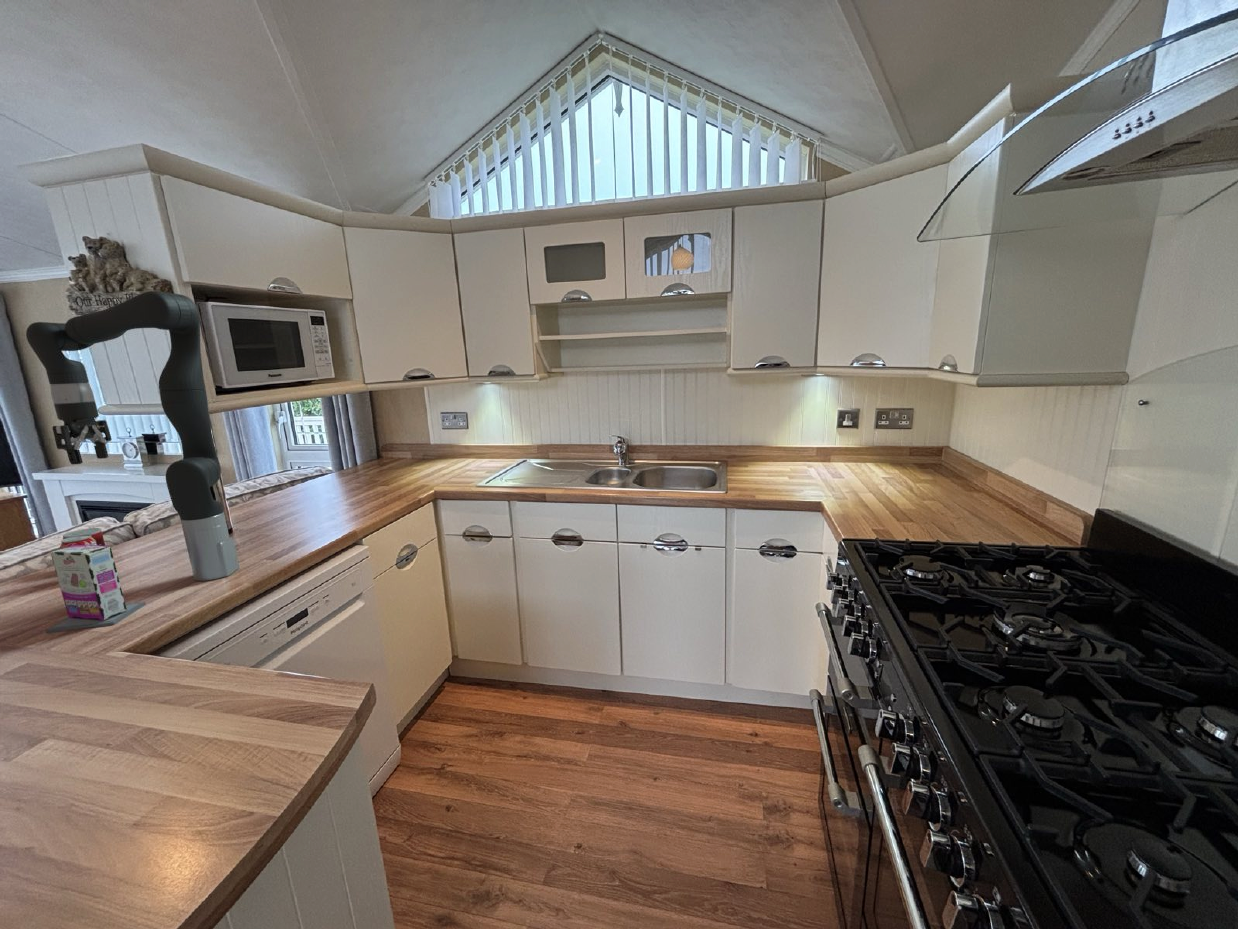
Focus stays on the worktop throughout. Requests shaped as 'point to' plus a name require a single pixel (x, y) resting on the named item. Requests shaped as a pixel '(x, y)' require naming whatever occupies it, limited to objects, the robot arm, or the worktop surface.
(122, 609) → the candy bar box
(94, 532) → the canned food
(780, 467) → the worktop surface
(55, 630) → the grey flat slab
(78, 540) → the soda can
